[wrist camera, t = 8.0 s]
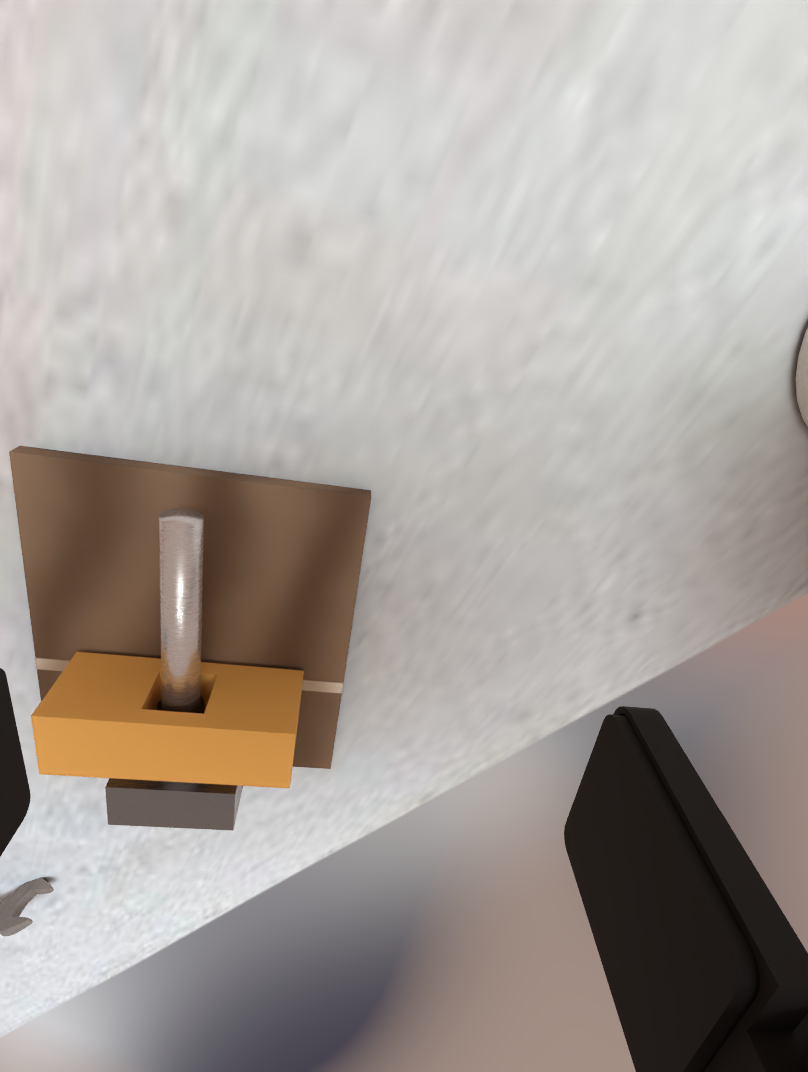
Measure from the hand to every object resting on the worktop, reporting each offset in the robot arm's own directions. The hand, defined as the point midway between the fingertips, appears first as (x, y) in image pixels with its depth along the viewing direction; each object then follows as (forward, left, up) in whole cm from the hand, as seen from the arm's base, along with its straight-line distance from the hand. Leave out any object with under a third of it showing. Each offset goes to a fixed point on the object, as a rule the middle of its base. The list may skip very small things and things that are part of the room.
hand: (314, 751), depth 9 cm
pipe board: (+7, +14, -23) cm, 28 cm away
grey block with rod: (+7, +15, -22) cm, 27 cm away
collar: (+7, +18, -22) cm, 29 cm away
